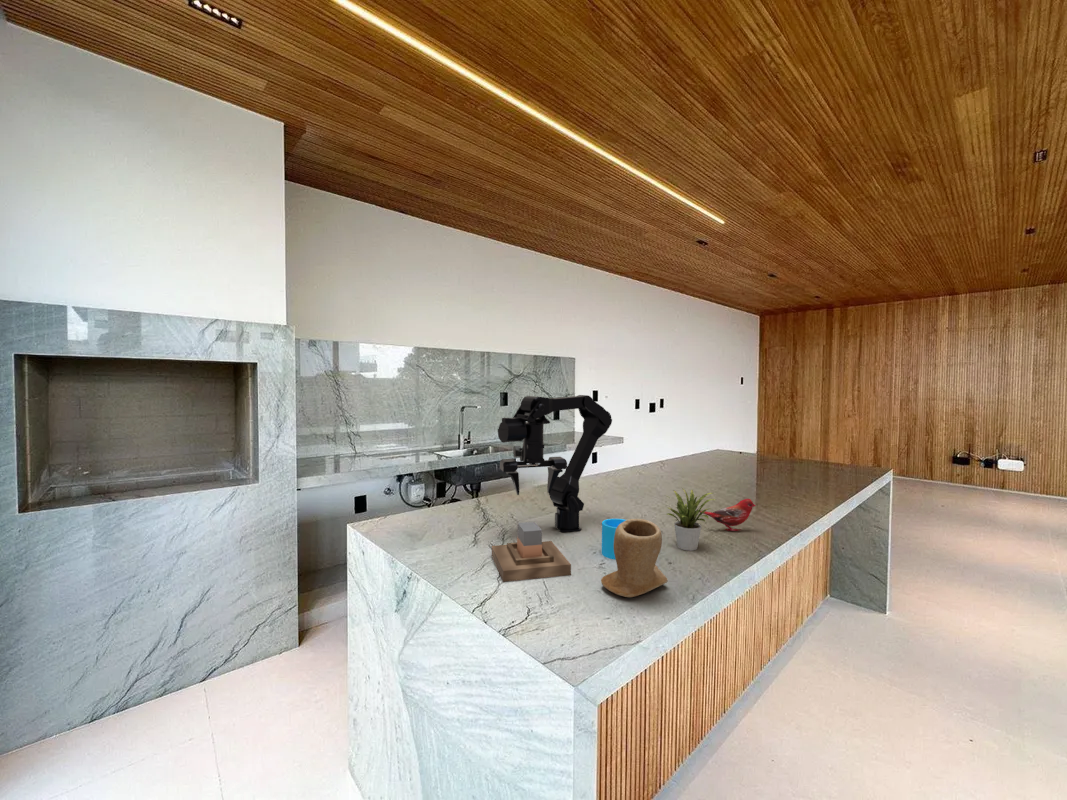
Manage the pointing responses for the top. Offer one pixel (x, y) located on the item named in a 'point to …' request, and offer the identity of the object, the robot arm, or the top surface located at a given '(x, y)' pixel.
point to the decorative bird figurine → (733, 514)
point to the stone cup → (635, 559)
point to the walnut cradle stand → (529, 563)
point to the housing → (529, 540)
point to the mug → (609, 536)
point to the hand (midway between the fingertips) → (533, 493)
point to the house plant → (688, 521)
